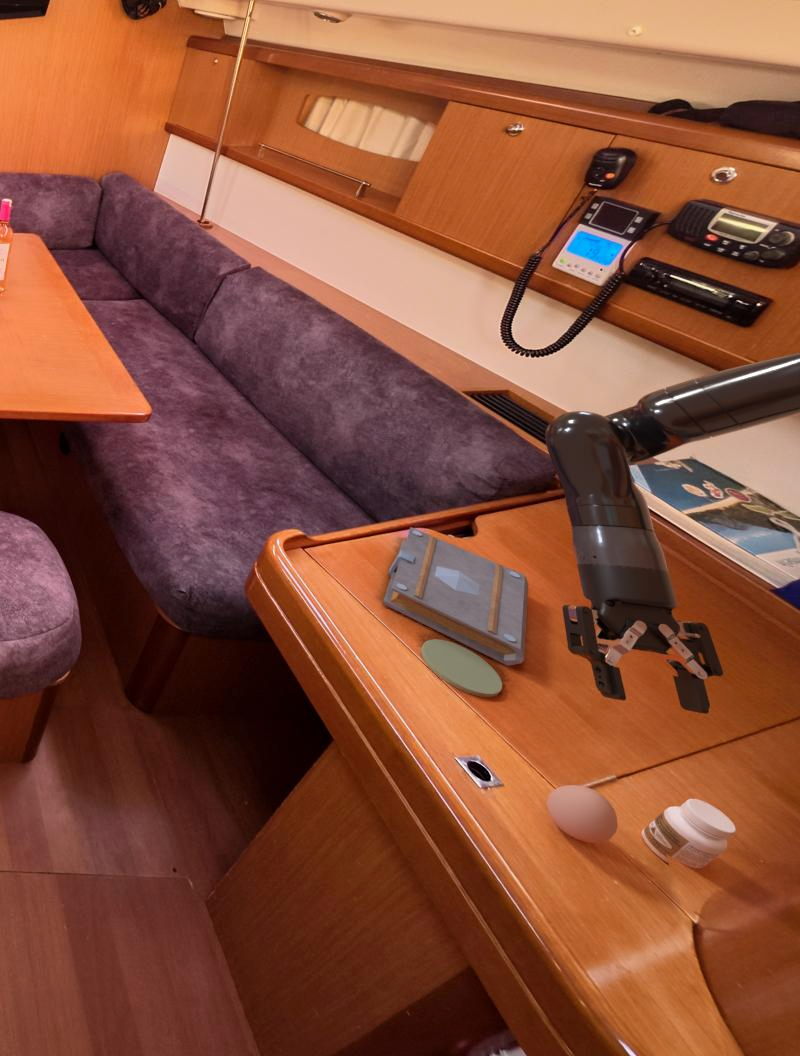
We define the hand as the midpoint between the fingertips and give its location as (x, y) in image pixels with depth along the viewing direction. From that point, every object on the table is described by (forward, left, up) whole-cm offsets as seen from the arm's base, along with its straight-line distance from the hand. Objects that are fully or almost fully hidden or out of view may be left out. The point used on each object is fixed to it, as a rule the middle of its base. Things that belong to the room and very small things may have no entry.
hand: (654, 705), depth 75 cm
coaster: (+13, -7, -13) cm, 20 cm away
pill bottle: (-5, +8, -13) cm, 16 cm away
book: (+14, -23, -13) cm, 30 cm away
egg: (+4, +13, -13) cm, 19 cm away
